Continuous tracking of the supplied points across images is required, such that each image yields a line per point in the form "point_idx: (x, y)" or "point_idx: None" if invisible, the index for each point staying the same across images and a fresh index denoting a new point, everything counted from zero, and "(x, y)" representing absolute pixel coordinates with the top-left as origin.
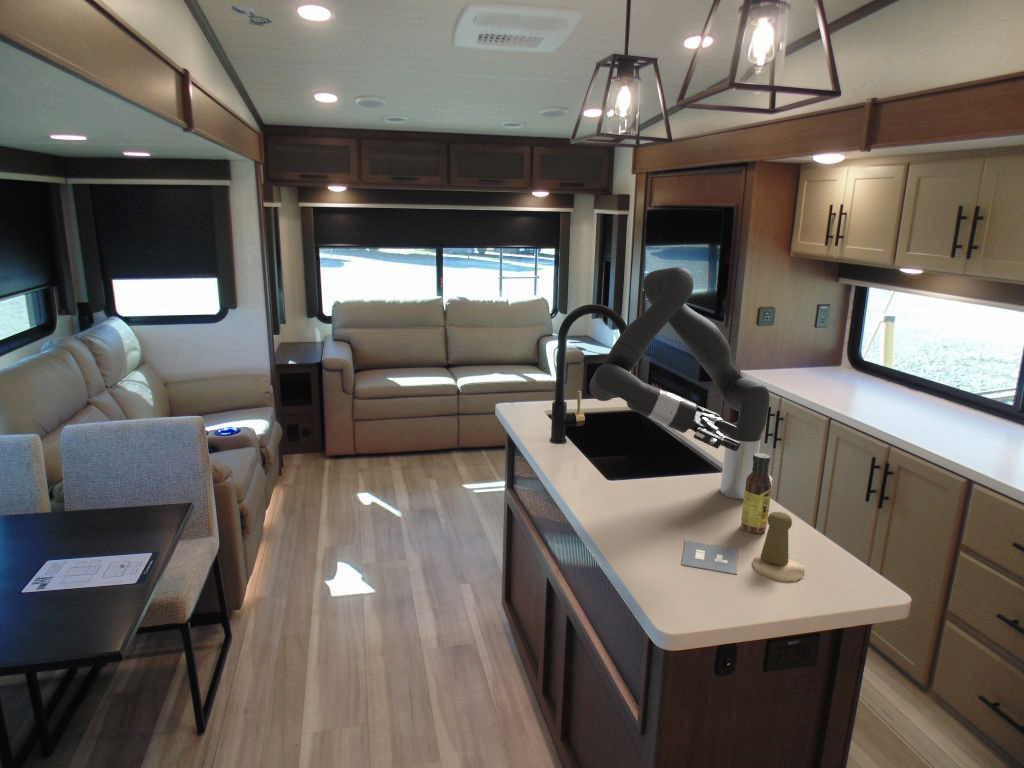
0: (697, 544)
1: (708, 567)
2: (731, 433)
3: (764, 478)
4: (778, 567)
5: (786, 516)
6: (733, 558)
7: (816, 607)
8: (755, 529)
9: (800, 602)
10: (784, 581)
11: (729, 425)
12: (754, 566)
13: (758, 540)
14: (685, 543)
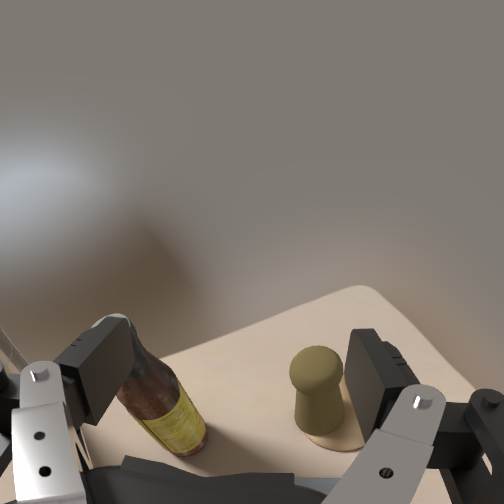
0: None
1: None
2: (129, 367)
3: (155, 362)
4: (348, 409)
5: (324, 351)
6: (333, 483)
7: (436, 362)
8: (205, 433)
9: (435, 380)
10: None
11: (106, 346)
12: (359, 446)
13: (233, 435)
14: None
